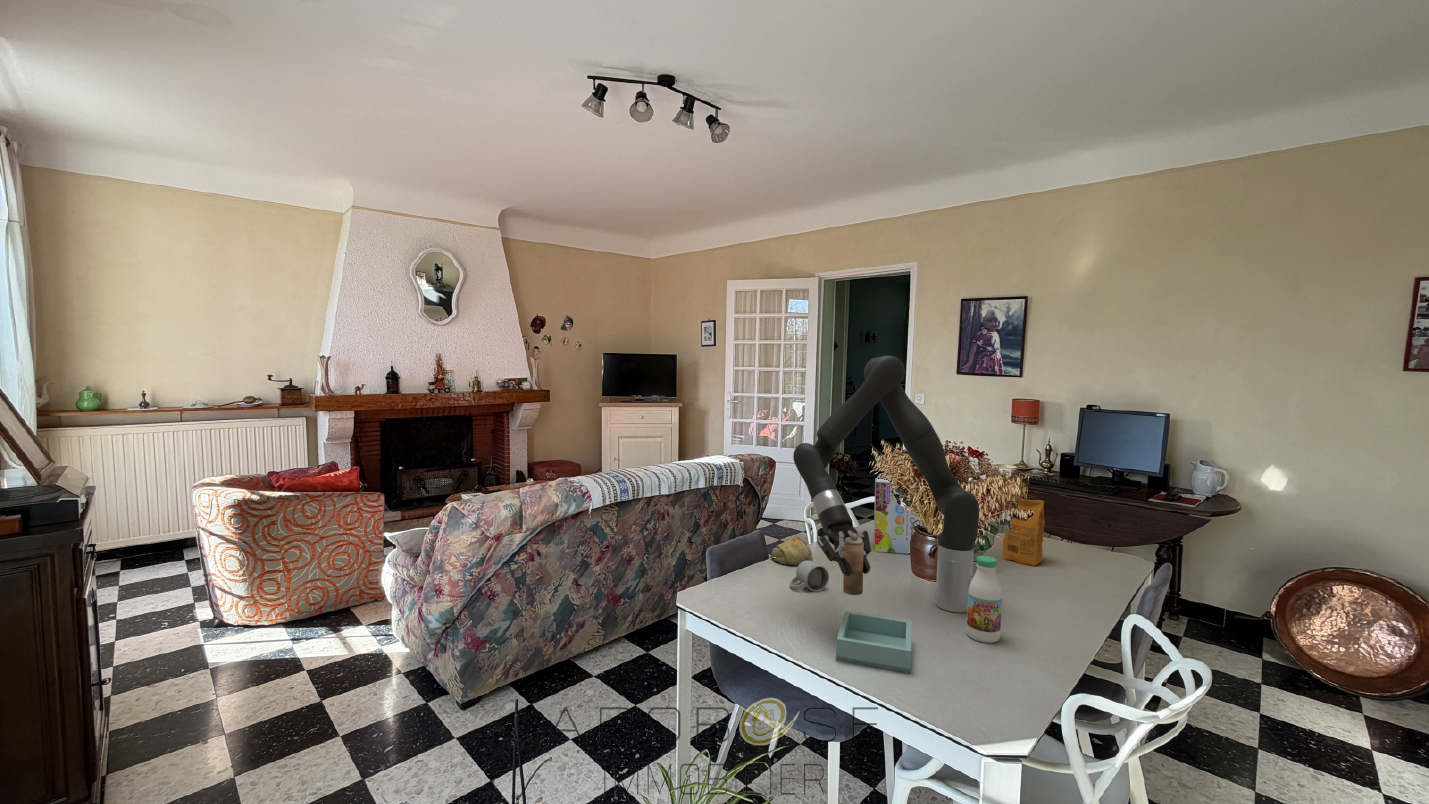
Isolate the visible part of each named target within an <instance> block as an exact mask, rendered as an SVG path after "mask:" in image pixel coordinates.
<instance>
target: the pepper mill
mask: <svg viewBox="0 0 1429 804" xmlns="http://www.w3.org/2000/svg"><path fill="white" fill-rule="evenodd" d="M863 552H864V543H863V542H862V539H860V538H858V536H857V534H855V533H853V534H851V535H850V537H848V538H846V539H845V541H844V556H845V557H844V559H846V560H847V562H848V565H849V567H850V569H851V574H850V576H847V577H846V576H845V575H844V574H843V573H842V576H843V579H842V580H843V581H842V582H843V583H842V584H843V587H842V588H843V589H842V591H843V593H844V594H847V595H849V596H860V595H862V594H863V593H864V591H863V590H864V588H863V586H864V573H863Z"/></svg>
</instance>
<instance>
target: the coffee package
mask: <svg viewBox="0 0 1429 804" xmlns="http://www.w3.org/2000/svg"><path fill="white" fill-rule="evenodd" d="M1044 505H1045V501H1044V500H1038V499H1037V500H1036V499H1023V498H1021V499H1020V502H1019V503H1018V506H1017V508H1018V509H1019V510H1033V511H1034V515H1033V516H1032V517H1030V518H1028V519H1022V520H1020V519H1018V518H1017V517H1012V519H1011V521H1010V528H1011V530H1010V531H1006V532H1005V531H1004V537H1003V539H1002V559H1003V560H1008V561H1013V562H1016V563H1018V564H1021V565H1028V566H1037V565H1038V564H1040V563H1041V562H1042V561H1043V543H1044V532H1045V531H1044V530H1045V523H1046V522H1045V509H1044V508H1045V507H1044Z"/></svg>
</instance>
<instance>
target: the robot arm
mask: <svg viewBox="0 0 1429 804" xmlns="http://www.w3.org/2000/svg"><path fill="white" fill-rule="evenodd" d="M905 369H906V368H905V364H904V363H903V361H901V359H899V358H898V357H896V356H893V355H882V356H878V357H874V358H871V359H870V360H869V361H867V363H866V364H865V367H864V370H863V375H864V376H863V377H864V379H865V380H864V382H863V383H862V384H861V386H860V387H859V388H858V389H857V390H856V391H855V392H854V394H852V395H851V396H850V397H849V398H848V399H846V401H845V402H844V403H842V404H840V406H838V408H836V409H834V411H833V412H832V413H831V415H829V416H828V418H827V419H826V420H825V421H824V423H823V424H821V426H820V427H819V428H818V429H817V431H816V438H817V440H816V442H815V444H811V443H808V442H802V443H800V444H798V445H797V446H796V447H795V448H794V451H793V455H792V458H793V463H794V465H795V467H796V470H797V471H798V474H799V475H800V477H802V478H801V479H802V480H803V482H804V483H805V486H806V487H807V491H808V493H809V495H810V496H809V497H810V498H811V502H812V504H813V506H814V507H813V508H814V511H815V514H816V516H817V518H818V521H819V523H820V526H821V527H822V530H823V532H824V534H825V535H821V536H820V537H819V538H818V540H817V542H816V543H817V545H818V546H819V548H820V549H821V550H822V553H824V555H825V556H826V558H827V559H828V561H829V562H836V563H837V564H838V566H839V569H840V571H841V573H842V575H843V574H844V575H845V576H846V577H847V576H850V574H851V569H850V567H849V565H848V562H847V560H846V559H844V557H845V556H844V541H845V539H846V538H848V537H850V535H851V534H853V533H855V534H857V536H858V538H860V539H862V542H863V543H864V552H863V575H868V573H869V572H870V571H871V565H870V562H869V559H868V558H867V557H868V555H870V553H871V552H872V549H871V541H870V537H869V532H868V531H867V530H863V531H858V530H857V529H856V528H855V527H854V525H853V520H852V517H851V516H850V513H849V510H848V509H847V506H846V505H845V502H844V500H843V498H842V496H841V494H840V492H839V491H838V489H837V487H836V485H835V482H834V480H833V478H832V477H831V475H830V474H829V472H827V470H826V469H827V467H828V465H829V464H830V462H831V461H832V458H833V456H835V453H836V451H837V450H838V447H839V446H840V445H841V444H842V442H843V441H844V440H845V439H846V438H847V437H848V435H850V434H851V432H852V431H853V430H854V429H855V428H856V427H857V425H858V424H859V423H860V422H861V420H862V419H863V418H864V417H865V416H866V415H867V414H868V413H870V411H871V410H872V409H873V408H874V407H875V406H876V405H877V404H878V403H879V402H880V403H881V405H882V406H883V408H884V410H885V412H886V414H887V415H888V418H889V420H890V422H891V424H892V426H893V427H894V429H895V431H896V434H897V435H898V437H899V438H900V441H901V443H902V444H903V446H904V448H905V450H906V452H907V453H908V456H909V457H910V459H911V460H912V461H913V464H914V465H915V466H916V468H917V469H918V471H919V472H920V474H921V475H922V476H923V478H924V480H926V482H927V484H928V486H929V488H930V490H931V493H932V495H933V497H934V500H935V502H936V505H937V507H938V512H940V514H941V515H943V526H942V527H943V528H942V532H940V533H939V534H938V537H937V560H936V561H937V565H936V587H935V605H936V606H937V607H938V608H940V609H942V610H944V611H947V612H951V613H952V612H953V613H960V614H961V613H967V605H968V591H969V586H970V583H971V581H972V579H973V577H974V576H973V573H974V558H975V557H974V555H975V542H976V541H977V538H978V534H979V533H978V532H979V524H980V523H979V522H980V521H979V520H980V504H979V501H978V500H977V498H976V497H975V496H974V495H973V494H972V493H970V492H968V491H967V490H965V489H964V488H963V486H961V484H960V483H959V482H958V480H957V479H956V477H955V475H954V474H953V472H952V470H951V469H950V467H949V464H948V460H947V457H946V453H945V449H944V446H943V444H942V441H941V439H940V437H939V435H938V434H937V432H936V429H934V426H933V425H932V423H931V422H930V420H929V419H928V417H927V416H926V415H925V414H924V413H923V412H922V410H920V408H918V406H917V405H915V403H914V402H913V401H912V400H911V399H910V398H909V396H908V395H907V393H906V392H905V389H904V387H903V385H902V382H903V381H904V378H905V373H906V370H905Z"/></svg>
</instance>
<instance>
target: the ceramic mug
mask: <svg viewBox="0 0 1429 804" xmlns="http://www.w3.org/2000/svg"><path fill="white" fill-rule="evenodd" d="M795 575H796V576H794V577H793V578H792V579H791V580H790V581H789V586H790V588H791V589H792V590H793V591H800V590H803V589H806V588H807V589H809V590H810V591H812V592H815V593H817V592H818V593H819V592H821V591H823V590H825V588H826V587H827V586H828V583H829V579H830V574H829V571H828V570H827V568H826V567H825V566H823V565H820V564H818V563H816V562H814V560H813V561H803V562H801V563H800V564H799V565H797V567H796V572H795ZM797 582H800V584H796V585H795V583H797Z"/></svg>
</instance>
